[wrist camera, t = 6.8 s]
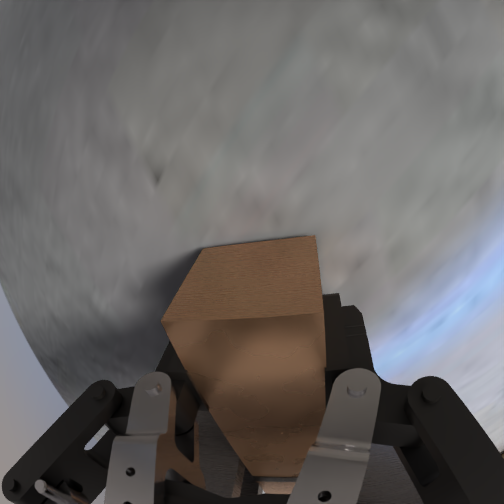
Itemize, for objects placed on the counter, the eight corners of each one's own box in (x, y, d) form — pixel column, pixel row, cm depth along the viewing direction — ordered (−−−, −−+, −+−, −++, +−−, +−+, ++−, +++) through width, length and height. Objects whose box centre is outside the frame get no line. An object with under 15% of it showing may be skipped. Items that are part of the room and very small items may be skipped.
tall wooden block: (202, 248, 10) (158, 322, 7) (316, 235, 10) (325, 313, 6) (275, 457, 19) (270, 500, 15) (326, 455, 18) (324, 499, 14)
